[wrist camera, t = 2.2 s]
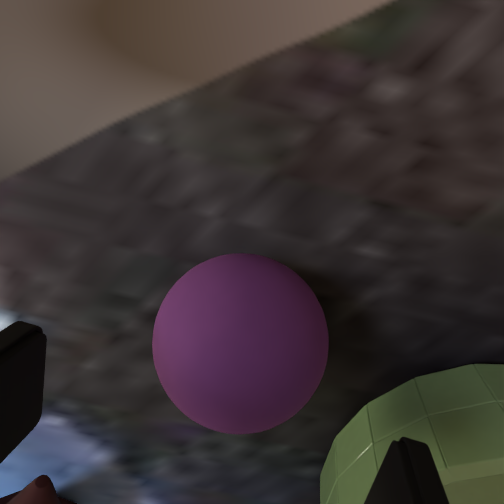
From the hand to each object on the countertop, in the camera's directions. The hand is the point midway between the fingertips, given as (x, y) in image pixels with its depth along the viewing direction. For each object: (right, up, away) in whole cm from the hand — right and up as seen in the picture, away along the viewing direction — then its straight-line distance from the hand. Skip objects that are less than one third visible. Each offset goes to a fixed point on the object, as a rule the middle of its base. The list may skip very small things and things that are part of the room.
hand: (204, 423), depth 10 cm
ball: (+1, +1, +3) cm, 4 cm away
